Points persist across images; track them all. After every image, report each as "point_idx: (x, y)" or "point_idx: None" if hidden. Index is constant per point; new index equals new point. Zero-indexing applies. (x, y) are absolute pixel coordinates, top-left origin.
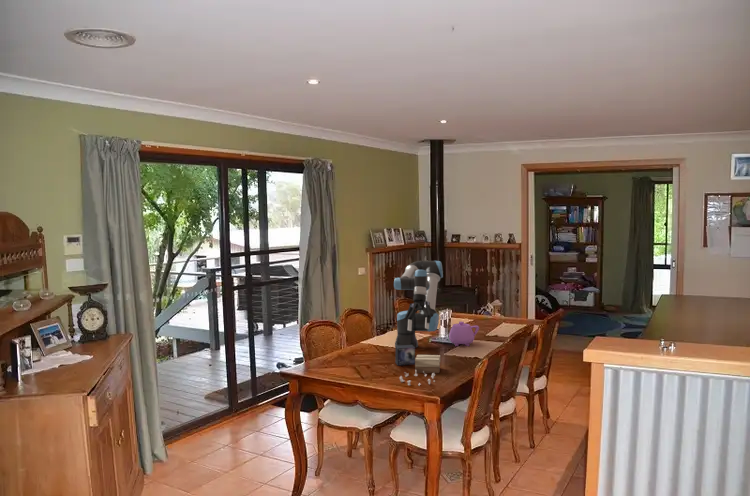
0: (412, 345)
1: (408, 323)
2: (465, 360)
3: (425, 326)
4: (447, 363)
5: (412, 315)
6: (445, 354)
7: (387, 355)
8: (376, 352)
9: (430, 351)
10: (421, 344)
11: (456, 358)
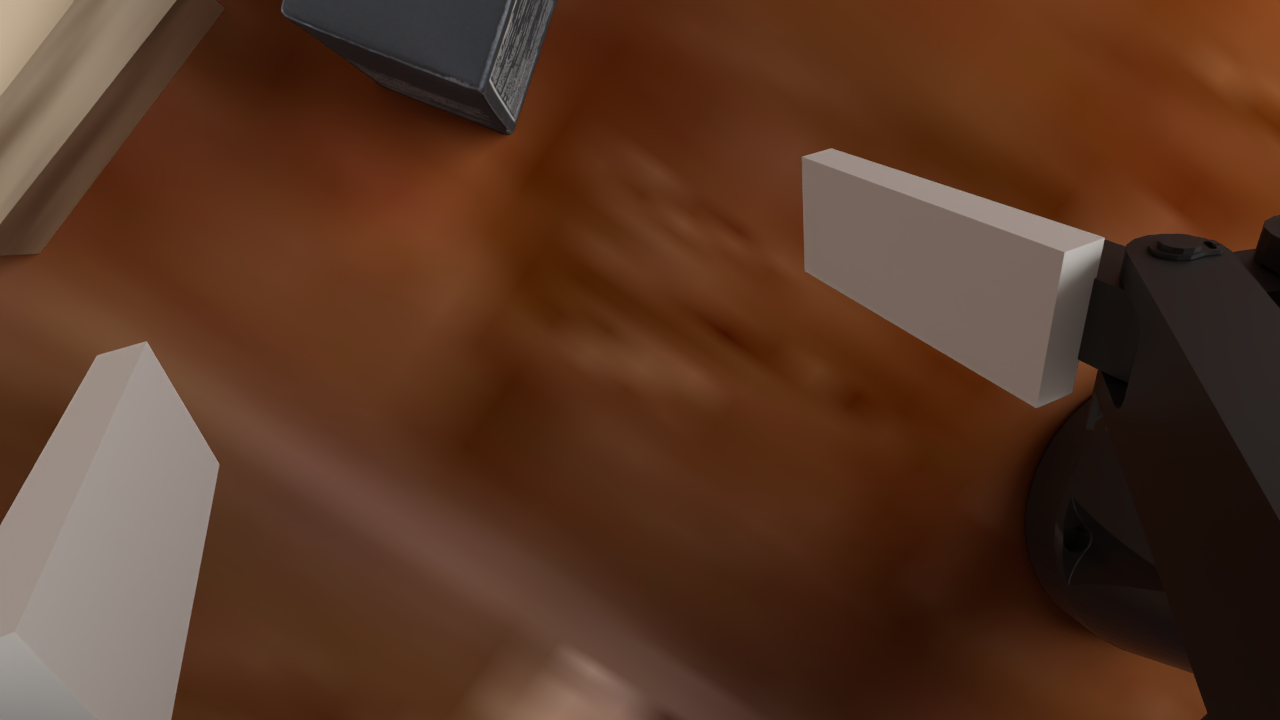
0: (423, 52)
1: (952, 202)
2: (208, 715)
3: (104, 375)
4: None
5: (1164, 476)
6: (577, 675)
7: (979, 52)
8: (1190, 20)
9: (796, 608)
10: (1111, 693)
11: (346, 680)
